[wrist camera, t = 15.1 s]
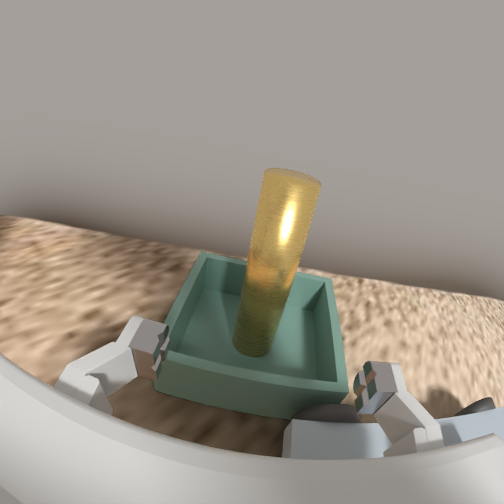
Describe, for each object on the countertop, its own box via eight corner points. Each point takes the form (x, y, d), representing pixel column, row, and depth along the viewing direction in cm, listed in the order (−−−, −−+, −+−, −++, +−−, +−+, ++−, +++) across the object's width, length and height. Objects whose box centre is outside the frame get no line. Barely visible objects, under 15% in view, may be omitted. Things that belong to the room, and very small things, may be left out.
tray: (155, 390, 19) (148, 354, 17) (198, 289, 31) (201, 251, 28) (322, 422, 19) (348, 392, 16) (316, 314, 31) (331, 278, 28)
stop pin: (229, 352, 23) (261, 178, 15) (235, 324, 26) (266, 164, 18) (270, 360, 23) (324, 192, 15) (273, 331, 26) (318, 176, 18)
